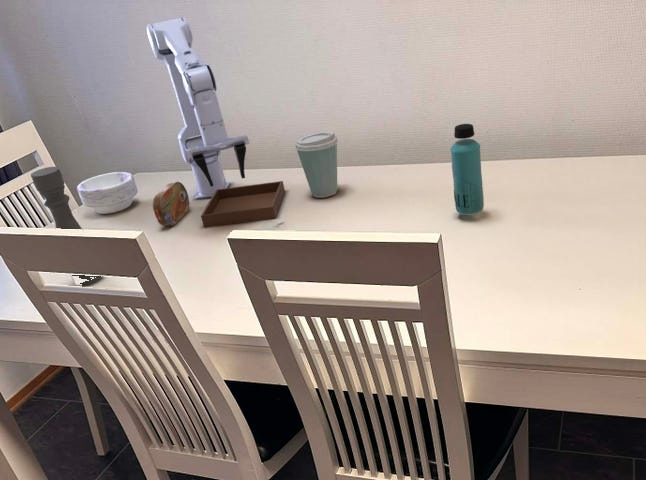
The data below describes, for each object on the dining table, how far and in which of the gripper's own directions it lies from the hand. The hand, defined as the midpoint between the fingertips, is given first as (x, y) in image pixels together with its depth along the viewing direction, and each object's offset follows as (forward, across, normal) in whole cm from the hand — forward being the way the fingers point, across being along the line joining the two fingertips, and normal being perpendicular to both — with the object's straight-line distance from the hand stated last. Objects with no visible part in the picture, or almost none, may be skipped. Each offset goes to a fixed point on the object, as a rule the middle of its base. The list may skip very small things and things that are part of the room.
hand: (227, 181), depth 167 cm
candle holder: (+12, -36, -10) cm, 39 cm away
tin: (+9, -15, +15) cm, 23 cm away
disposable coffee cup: (+10, +24, +7) cm, 27 cm away
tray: (+10, +3, +10) cm, 14 cm away
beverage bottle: (+15, +48, -29) cm, 58 cm away
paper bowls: (+6, -30, +37) cm, 48 cm away
